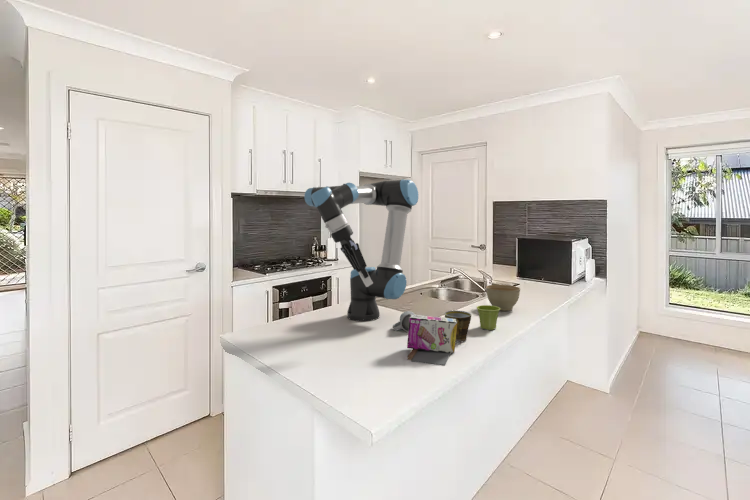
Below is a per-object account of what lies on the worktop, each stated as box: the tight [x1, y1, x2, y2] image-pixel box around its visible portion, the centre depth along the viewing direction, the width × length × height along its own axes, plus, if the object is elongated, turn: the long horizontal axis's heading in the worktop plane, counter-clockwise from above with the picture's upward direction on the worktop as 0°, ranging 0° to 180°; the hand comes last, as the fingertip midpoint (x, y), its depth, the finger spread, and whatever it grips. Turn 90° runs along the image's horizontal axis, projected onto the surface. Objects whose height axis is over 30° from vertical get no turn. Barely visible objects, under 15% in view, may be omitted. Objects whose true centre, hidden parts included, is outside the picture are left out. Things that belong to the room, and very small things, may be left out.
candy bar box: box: [406, 314, 457, 354], centre depth 132 cm, size 11×5×16 cm
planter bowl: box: [485, 284, 521, 312], centre depth 189 cm, size 16×16×11 cm
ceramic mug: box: [392, 310, 416, 333], centre depth 157 cm, size 11×8×8 cm
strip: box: [407, 349, 419, 361], centre depth 131 cm, size 2×14×1 cm, turn 160°
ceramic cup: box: [444, 310, 472, 343], centre depth 142 cm, size 13×10×10 cm
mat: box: [410, 349, 451, 366], centre depth 129 cm, size 11×16×1 cm
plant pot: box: [476, 304, 501, 331], centre depth 158 cm, size 9×9×9 cm
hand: (369, 284), depth 140 cm, fingers closed
